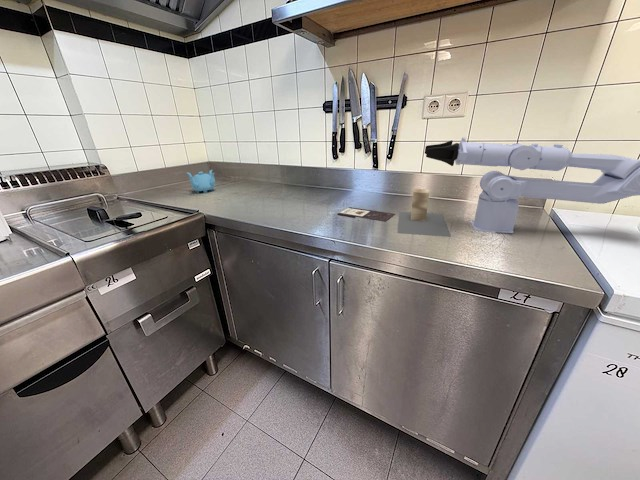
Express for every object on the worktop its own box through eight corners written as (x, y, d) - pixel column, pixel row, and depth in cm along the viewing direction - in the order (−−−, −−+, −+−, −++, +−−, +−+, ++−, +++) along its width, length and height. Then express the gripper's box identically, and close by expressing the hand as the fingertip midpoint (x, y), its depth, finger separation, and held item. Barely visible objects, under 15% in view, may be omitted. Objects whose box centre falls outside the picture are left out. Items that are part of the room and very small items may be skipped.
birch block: (424, 216, 88) (428, 189, 84) (425, 220, 84) (429, 192, 80) (410, 215, 89) (413, 188, 85) (410, 220, 85) (413, 192, 81)
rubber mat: (442, 215, 90) (442, 213, 89) (450, 238, 72) (451, 236, 72) (399, 213, 94) (399, 211, 93) (397, 234, 76) (397, 233, 76)
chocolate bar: (385, 221, 85) (337, 213, 94) (385, 224, 85) (337, 216, 95) (395, 213, 91) (349, 207, 101) (395, 216, 92) (349, 209, 101)
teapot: (192, 195, 132) (187, 175, 128) (190, 190, 143) (186, 171, 139) (219, 191, 138) (215, 171, 133) (215, 187, 148) (212, 168, 144)
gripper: (477, 136, 76) (427, 134, 79) (491, 140, 63) (430, 137, 67) (471, 162, 79) (422, 158, 82) (482, 170, 66) (425, 166, 70)
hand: (425, 151), depth 75 cm, fingers open, 7 cm apart
